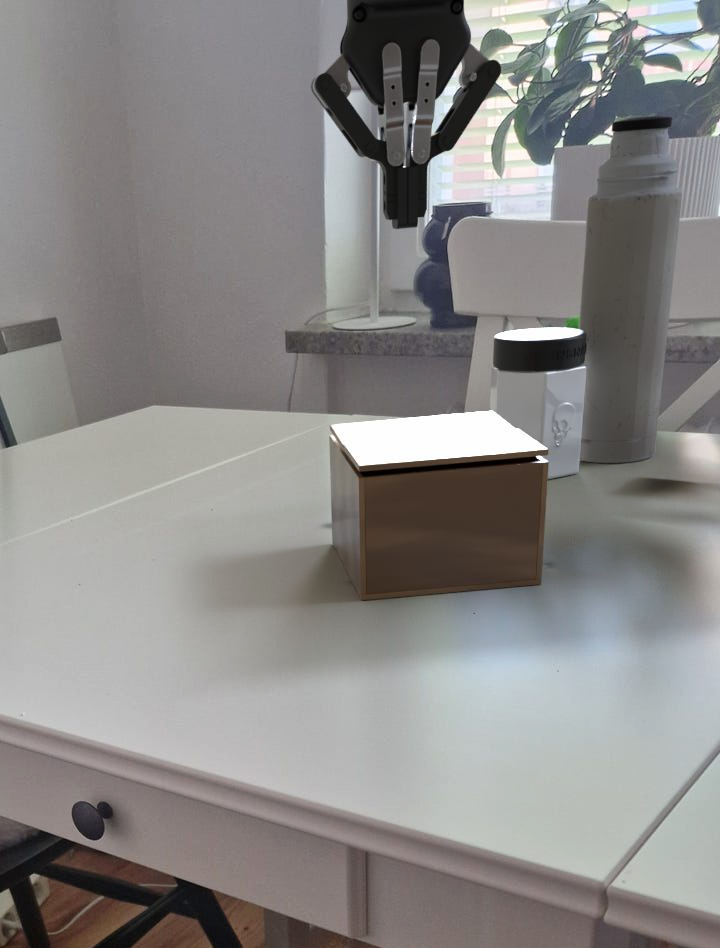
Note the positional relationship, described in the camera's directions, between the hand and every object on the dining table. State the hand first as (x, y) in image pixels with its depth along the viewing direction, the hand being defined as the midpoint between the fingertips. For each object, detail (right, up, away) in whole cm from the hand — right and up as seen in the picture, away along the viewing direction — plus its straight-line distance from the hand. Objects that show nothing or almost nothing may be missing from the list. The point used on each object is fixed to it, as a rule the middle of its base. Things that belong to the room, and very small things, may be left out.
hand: (405, 227), depth 82 cm
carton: (+3, -22, +6) cm, 23 cm away
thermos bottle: (+25, -5, +32) cm, 41 cm away
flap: (+2, -13, +5) cm, 14 cm away
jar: (+16, -8, +29) cm, 34 cm away
